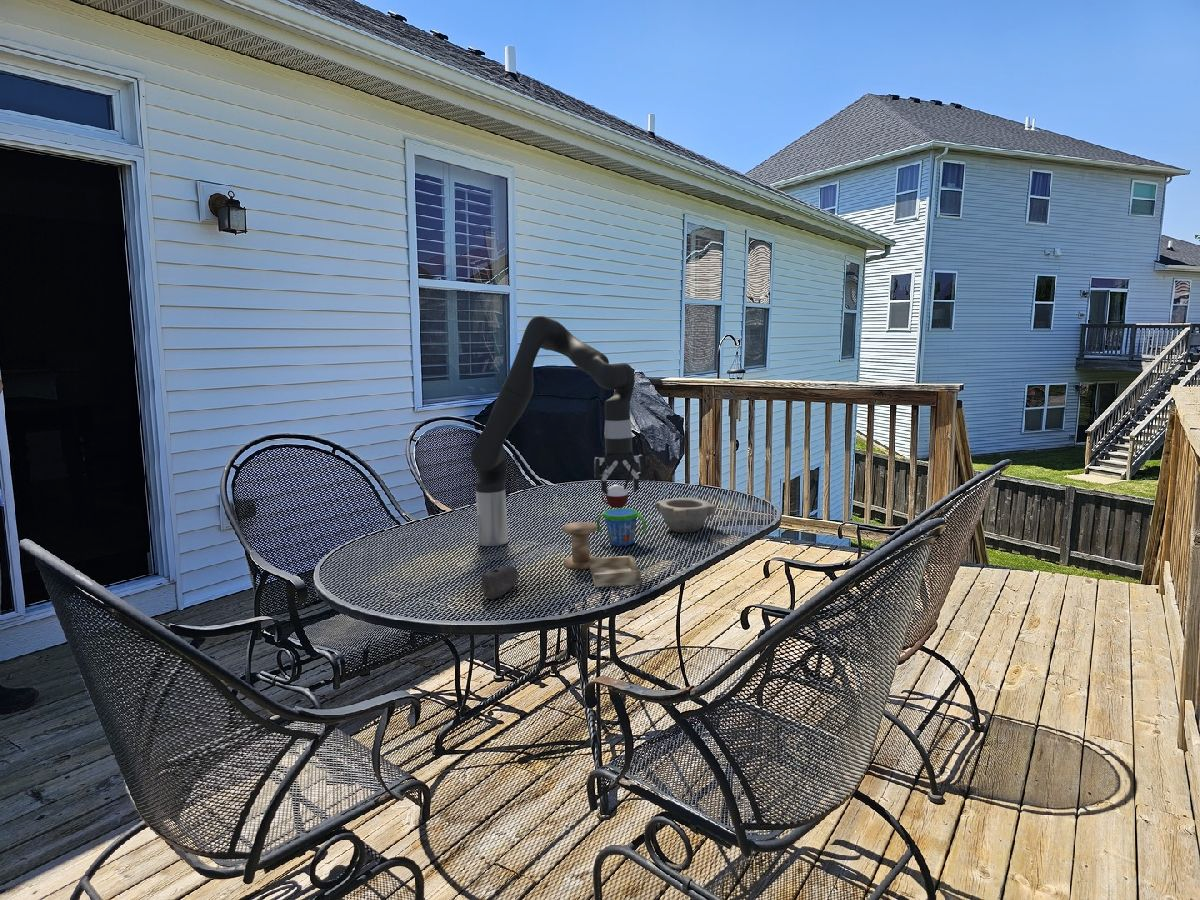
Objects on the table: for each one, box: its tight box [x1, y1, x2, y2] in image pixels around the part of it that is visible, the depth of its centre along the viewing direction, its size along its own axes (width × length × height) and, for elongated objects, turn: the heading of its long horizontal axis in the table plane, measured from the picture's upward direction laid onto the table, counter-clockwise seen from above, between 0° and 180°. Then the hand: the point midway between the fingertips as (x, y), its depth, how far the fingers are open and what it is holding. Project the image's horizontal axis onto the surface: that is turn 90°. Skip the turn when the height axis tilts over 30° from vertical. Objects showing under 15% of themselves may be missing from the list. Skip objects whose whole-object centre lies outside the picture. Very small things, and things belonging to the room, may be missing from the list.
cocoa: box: [601, 463, 635, 509], centre depth 206 cm, size 10×6×12 cm, turn 52°
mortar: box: [654, 496, 718, 533], centre depth 242 cm, size 17×17×9 cm
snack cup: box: [596, 507, 647, 547], centre depth 228 cm, size 16×10×10 cm
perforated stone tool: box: [480, 565, 519, 600], centre depth 187 cm, size 15×5×7 cm, turn 153°
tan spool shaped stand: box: [561, 521, 598, 570], centre depth 209 cm, size 10×10×11 cm
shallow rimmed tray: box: [589, 555, 642, 588], centre depth 197 cm, size 12×15×3 cm
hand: (620, 492), depth 207 cm, fingers closed on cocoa, 8 cm apart
